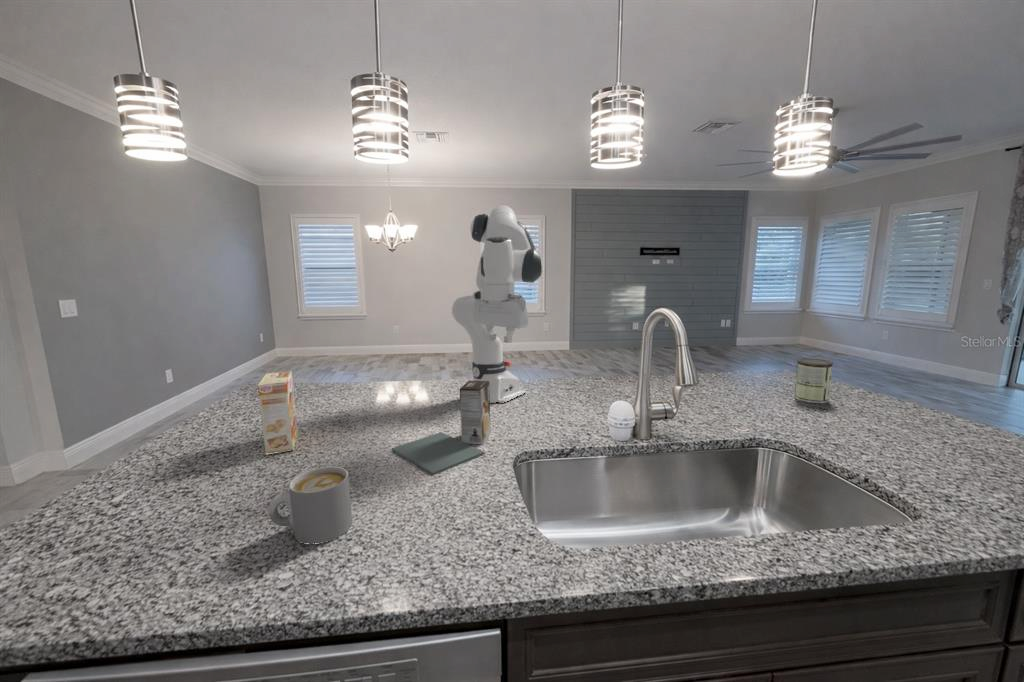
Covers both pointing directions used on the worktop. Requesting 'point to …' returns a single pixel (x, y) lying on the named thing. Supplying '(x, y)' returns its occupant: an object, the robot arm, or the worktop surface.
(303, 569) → the worktop surface
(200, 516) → the worktop surface
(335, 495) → the coffee mug
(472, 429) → the coffee box
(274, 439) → the coffeecake box
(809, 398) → the coffee can
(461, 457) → the mat
